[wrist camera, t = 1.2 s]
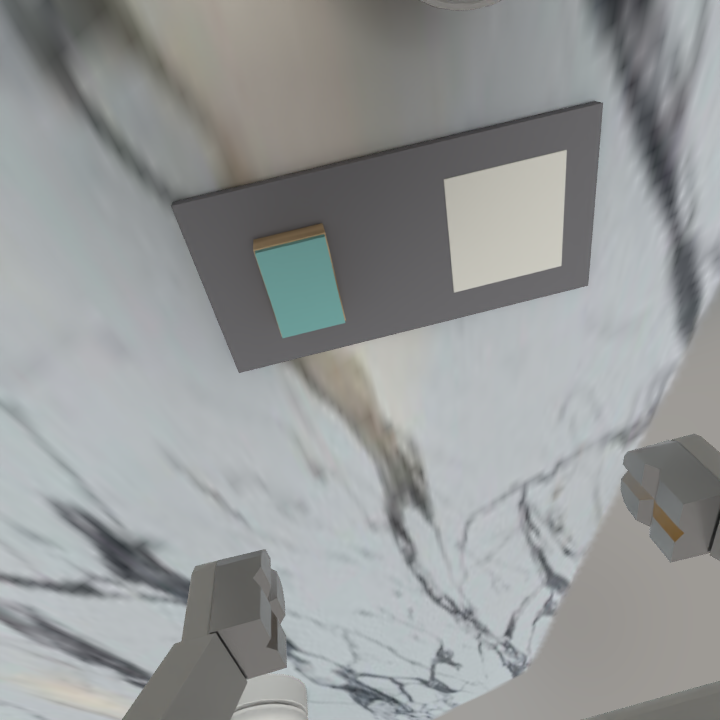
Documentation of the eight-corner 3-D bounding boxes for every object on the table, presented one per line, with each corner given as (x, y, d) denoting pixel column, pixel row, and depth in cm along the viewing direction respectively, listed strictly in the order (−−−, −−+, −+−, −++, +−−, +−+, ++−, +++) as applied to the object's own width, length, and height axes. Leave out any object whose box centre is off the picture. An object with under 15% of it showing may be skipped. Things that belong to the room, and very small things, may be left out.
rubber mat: (173, 201, 34) (170, 206, 33) (594, 101, 35) (603, 103, 34) (239, 366, 42) (239, 373, 41) (581, 280, 43) (588, 285, 42)
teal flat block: (253, 239, 35) (252, 252, 33) (322, 223, 35) (326, 234, 33) (280, 323, 39) (281, 339, 37) (342, 308, 39) (347, 323, 37)
